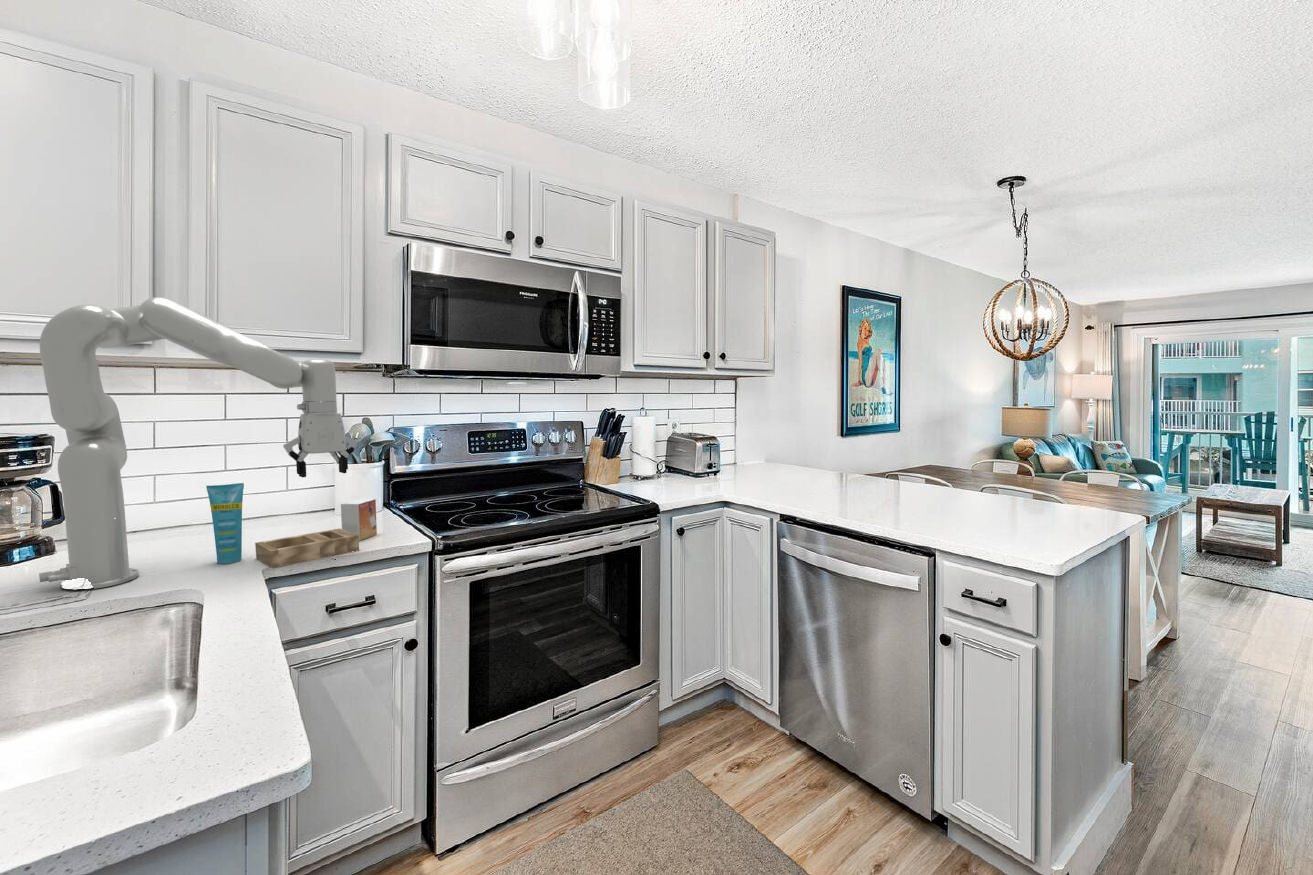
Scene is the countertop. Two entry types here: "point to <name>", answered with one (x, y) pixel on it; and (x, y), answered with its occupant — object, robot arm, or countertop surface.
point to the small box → (359, 517)
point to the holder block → (306, 547)
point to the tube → (227, 520)
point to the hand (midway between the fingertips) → (323, 474)
